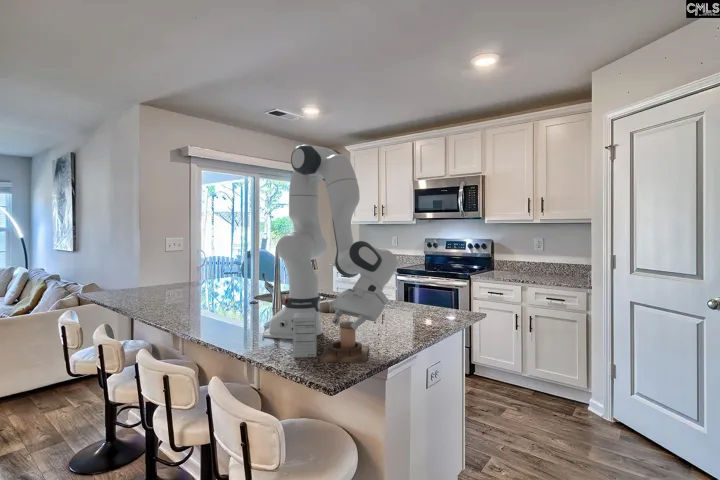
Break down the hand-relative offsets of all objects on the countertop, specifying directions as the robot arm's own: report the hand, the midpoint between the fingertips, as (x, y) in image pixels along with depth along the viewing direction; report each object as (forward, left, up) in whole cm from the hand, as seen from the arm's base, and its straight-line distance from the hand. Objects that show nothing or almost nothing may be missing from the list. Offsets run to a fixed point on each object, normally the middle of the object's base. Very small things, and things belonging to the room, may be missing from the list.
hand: (343, 325), depth 123 cm
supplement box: (-13, +1, -10) cm, 16 cm away
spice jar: (+1, +1, -8) cm, 8 cm away
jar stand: (0, 0, -9) cm, 9 cm away
